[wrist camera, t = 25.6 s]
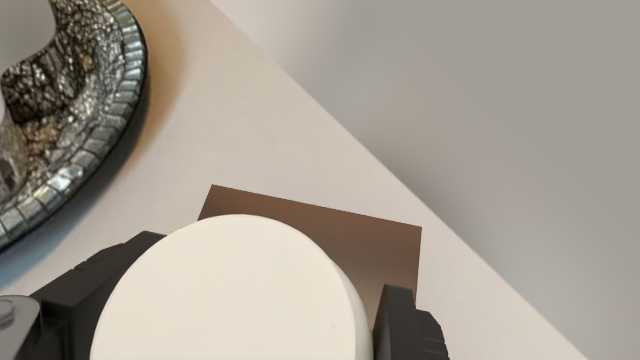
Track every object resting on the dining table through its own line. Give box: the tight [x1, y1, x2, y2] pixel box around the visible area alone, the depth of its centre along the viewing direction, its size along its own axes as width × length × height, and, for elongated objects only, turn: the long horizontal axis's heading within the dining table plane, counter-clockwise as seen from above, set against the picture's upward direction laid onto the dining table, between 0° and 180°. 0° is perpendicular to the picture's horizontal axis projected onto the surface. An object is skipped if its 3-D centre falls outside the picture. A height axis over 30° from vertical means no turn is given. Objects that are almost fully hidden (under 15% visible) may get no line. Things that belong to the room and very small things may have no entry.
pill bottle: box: [90, 214, 374, 360], centre depth 11 cm, size 6×6×11 cm
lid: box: [197, 185, 422, 333], centre depth 17 cm, size 14×12×1 cm
